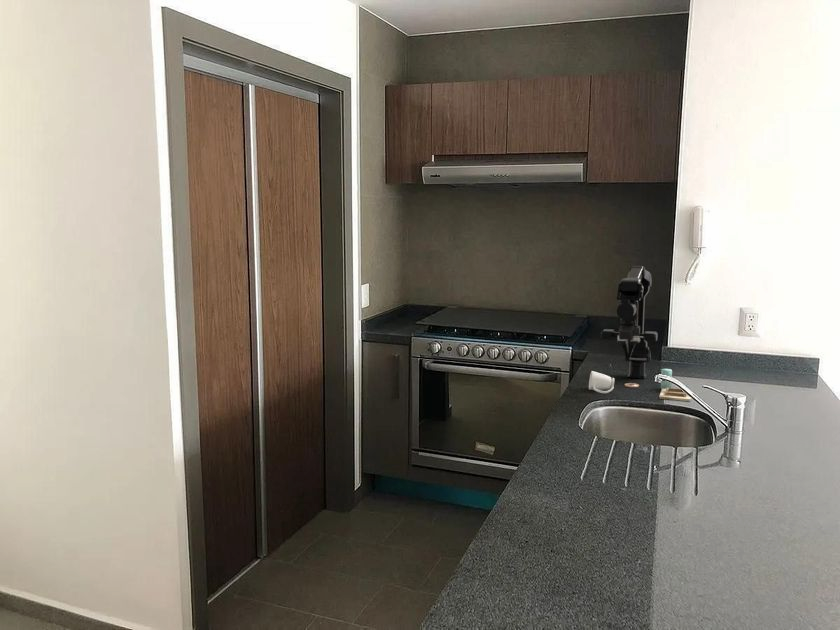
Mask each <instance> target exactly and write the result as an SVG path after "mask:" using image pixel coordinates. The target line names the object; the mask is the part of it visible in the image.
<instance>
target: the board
mask: <svg viewBox="0 0 840 630" xmlns="http://www.w3.org/2000/svg"><path fill="white" fill-rule="evenodd" d="M681 389H682V388H675V387H671V388H666V389H664V388H662V389H661V391H660V393H659V396H658V399H659V400H667V399H669V401H679V402H680V401H681V402H691V401H692V397H689V396H688V395H687V394H686V393H685V392H683V391H682V390H681Z"/></svg>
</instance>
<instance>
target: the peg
mask: <svg viewBox="0 0 840 630" xmlns="http://www.w3.org/2000/svg"><path fill="white" fill-rule="evenodd" d="M660 370H661V372H660V373H661V374H663V375H667V376H670V377H672V378H673V370H672V369H671V368H661V369H660ZM662 388H664V389H666V388H672V383H670V382H667V381H661V380H660V390H662Z"/></svg>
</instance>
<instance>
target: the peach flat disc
mask: <svg viewBox="0 0 840 630" xmlns="http://www.w3.org/2000/svg"><path fill="white" fill-rule="evenodd" d="M639 386H640V384H638V383H635V382H628V383H624V387H627V388H639Z"/></svg>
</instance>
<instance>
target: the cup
mask: <svg viewBox="0 0 840 630" xmlns="http://www.w3.org/2000/svg"><path fill="white" fill-rule="evenodd" d="M614 386H615V378H614V377H611V376H610V375H606V374H604V373H600V372H597V371H593V370H591V372H590V375H589V381H588V390H589V391H591V390H592V391H595V392H597V393H600V394H608V393H610V392H612V391H613V390H614V388H615V387H614Z"/></svg>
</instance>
